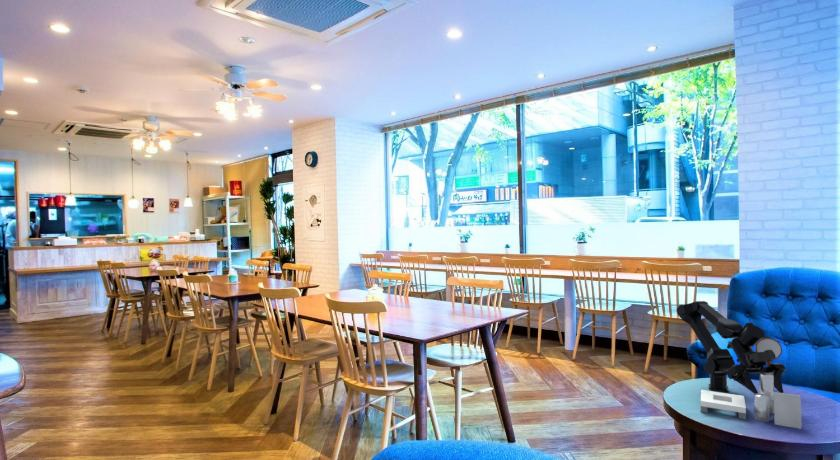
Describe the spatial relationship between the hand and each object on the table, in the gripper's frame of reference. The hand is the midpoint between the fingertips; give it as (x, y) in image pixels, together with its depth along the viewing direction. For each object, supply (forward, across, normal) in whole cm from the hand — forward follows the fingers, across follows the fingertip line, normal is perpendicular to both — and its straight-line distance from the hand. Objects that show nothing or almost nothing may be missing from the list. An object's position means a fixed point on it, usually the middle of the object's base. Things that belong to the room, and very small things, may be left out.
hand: (769, 393), depth 163 cm
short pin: (+8, -7, +1) cm, 11 cm away
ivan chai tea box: (+12, -2, -2) cm, 12 cm away
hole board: (+1, -13, +8) cm, 16 cm away
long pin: (+4, 0, +6) cm, 7 cm away
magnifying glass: (-12, +20, +21) cm, 31 cm away
